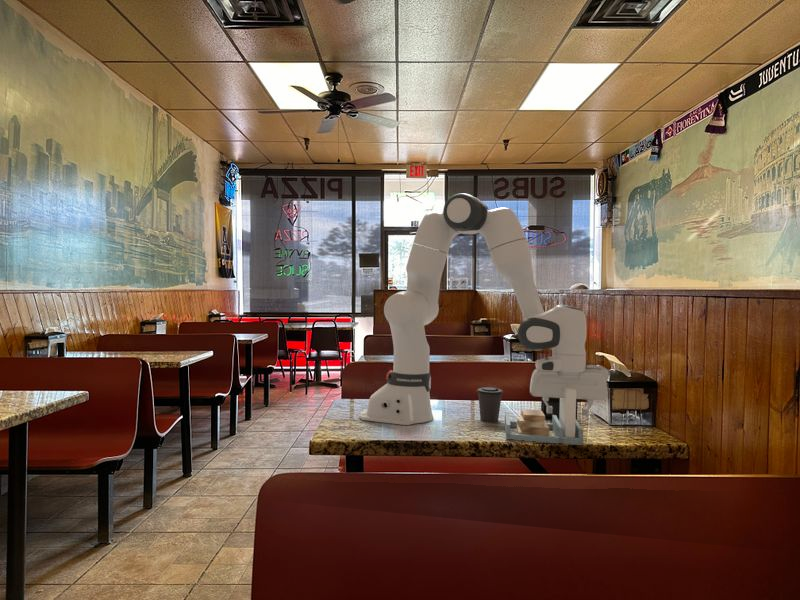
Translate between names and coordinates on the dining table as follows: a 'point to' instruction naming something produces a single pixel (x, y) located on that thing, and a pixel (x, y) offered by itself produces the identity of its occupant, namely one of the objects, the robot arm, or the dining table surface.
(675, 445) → the dining table surface
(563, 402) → the white flat slab
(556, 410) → the digital camera
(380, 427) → the dining table surface
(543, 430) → the offcut stack
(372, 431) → the dining table surface
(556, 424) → the slotted rack
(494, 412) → the coffee cup
